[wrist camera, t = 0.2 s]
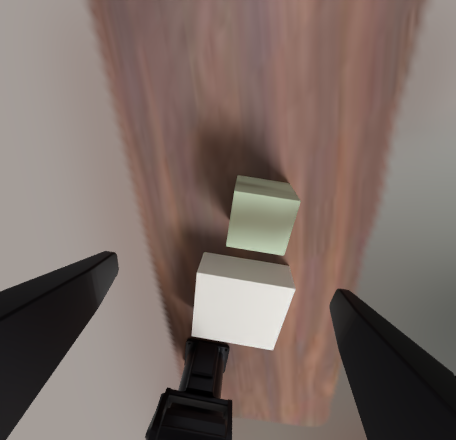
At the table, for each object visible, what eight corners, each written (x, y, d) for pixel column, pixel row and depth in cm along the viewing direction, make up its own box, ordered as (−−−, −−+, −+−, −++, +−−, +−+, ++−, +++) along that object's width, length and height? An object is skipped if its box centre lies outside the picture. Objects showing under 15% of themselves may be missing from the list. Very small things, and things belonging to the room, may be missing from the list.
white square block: (269, 321, 29) (272, 350, 25) (198, 309, 29) (191, 336, 26) (288, 263, 24) (295, 289, 21) (204, 250, 25) (196, 272, 21)
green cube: (276, 228, 22) (283, 255, 18) (230, 220, 22) (225, 246, 18) (289, 182, 20) (300, 201, 16) (237, 174, 20) (234, 190, 16)
